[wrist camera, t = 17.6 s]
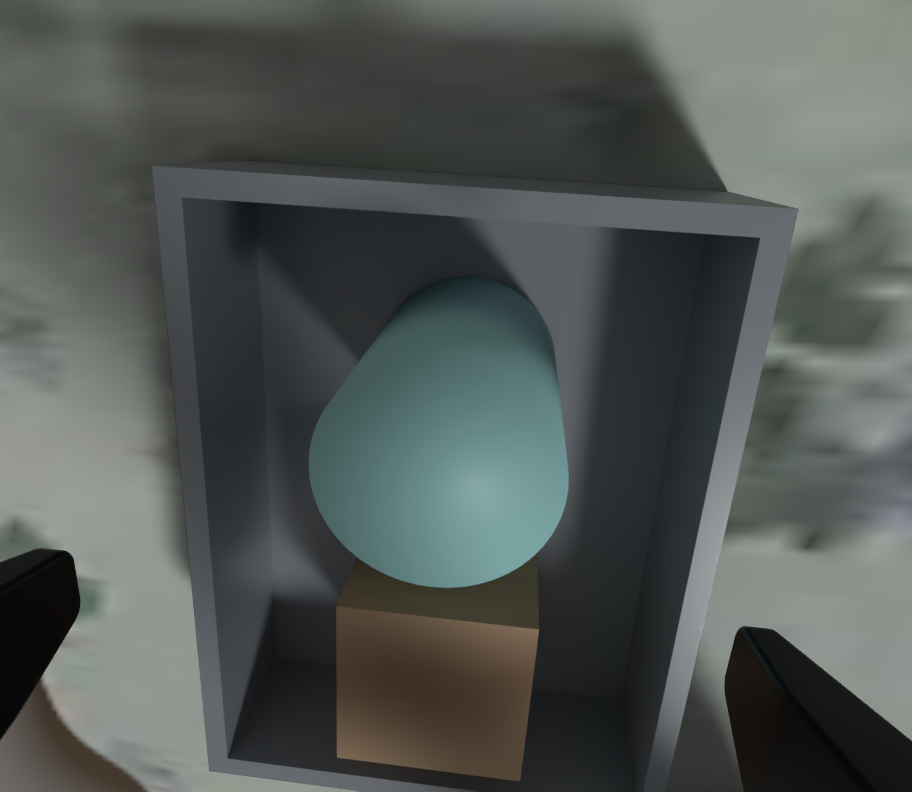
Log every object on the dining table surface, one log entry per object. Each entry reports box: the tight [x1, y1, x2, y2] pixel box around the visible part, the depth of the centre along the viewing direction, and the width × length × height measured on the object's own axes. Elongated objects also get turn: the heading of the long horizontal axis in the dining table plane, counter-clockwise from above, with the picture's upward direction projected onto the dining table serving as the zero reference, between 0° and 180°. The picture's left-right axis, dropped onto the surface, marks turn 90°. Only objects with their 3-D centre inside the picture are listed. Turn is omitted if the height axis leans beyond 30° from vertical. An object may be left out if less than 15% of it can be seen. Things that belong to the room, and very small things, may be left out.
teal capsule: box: [309, 276, 569, 588], centre depth 16 cm, size 5×5×7 cm
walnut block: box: [336, 552, 539, 781], centre depth 20 cm, size 5×5×5 cm
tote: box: [152, 160, 798, 792], centre depth 19 cm, size 17×13×5 cm
